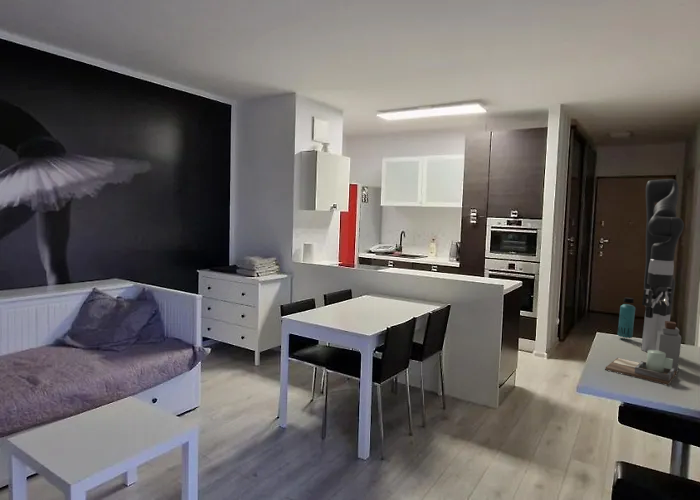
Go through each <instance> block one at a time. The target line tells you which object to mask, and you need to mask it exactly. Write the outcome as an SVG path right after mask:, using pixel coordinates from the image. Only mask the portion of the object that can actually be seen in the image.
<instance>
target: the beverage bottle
mask: <svg viewBox="0 0 700 500" xmlns="http://www.w3.org/2000/svg"><path fill="white" fill-rule="evenodd" d="M634 300H635V299H634V298H633V297H624V298H623V304H622V305H620V307H619V313H618V314H619V315H618V316H619V317H618V327H617V336H618V337H622V338H625V339H626V338H627V339H632V338H633V335H634V327H635V325H634V322H635V317H636V316H635V314H636V306H634V305H633V304H634Z"/></svg>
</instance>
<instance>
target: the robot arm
mask: <svg viewBox="0 0 700 500" xmlns="http://www.w3.org/2000/svg"><path fill="white" fill-rule="evenodd" d="M679 188H680V187H679V183H678V181H677V180H676V179H675V178H674V179H673V178H667V179H665V178H664V179H651V180H648V181H647V182H646V185H645V208H646V228H645V267H644V269H645V270H644V277H643V278H644V280H643V295H642V300H641V301H642V302H641V303H642V304H641V305H642V306H644V307H645V309H644V310H645V312H644V320H643V321H644V322H643V329H642V337H641V338H642V339H641V350H642V351H643V352H648V350H656V341H657V332H658V330H659V331H661V326H665V321H670V322H671V313H672V308H673V307H672V306H673V298H674V294H675V287H676V281H675V278H674V268H675V267H674V266H675V264H674V259H675V253H676V252H675V251H676V247H677V244H678V241H679V239H680V237H681V235H682V232H683V231H684V227H685V223H684V221H683V219H682V218H680V217H679V216H677V204H678V199H679V193H680V192H679V191H680V189H679Z"/></svg>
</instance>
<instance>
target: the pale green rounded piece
mask: <svg viewBox="0 0 700 500" xmlns="http://www.w3.org/2000/svg"><path fill="white" fill-rule="evenodd" d="M645 362H646V369H647V370H651V371H655V372H659V373H664V368H667V369H672V365H673V359H670V358H666V353H664V352H661V351H657V350H648V352H647V354H646V361H645Z"/></svg>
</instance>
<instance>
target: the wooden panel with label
mask: <svg viewBox="0 0 700 500" xmlns="http://www.w3.org/2000/svg"><path fill="white" fill-rule="evenodd" d="M646 362H647V361H640V362H637V361H633V360H629V359H625V358H620V357H617V358H615V359H614V360H613V361H611V362H610V363H609V364H608V365H606V366H605V370H607V371H610V372H615V373H617V372H618V373H619V374H621V373H622V374H621V375H625V374H626V376H629V375H631V376H630V377H633V376H634V378H637V379H643V380H646V381H651V382H654V383H659V384H661V385H662V384H663V385H666V386H669V385H670V383H671V382H672V380H673V379H674V378H675V377H676V375H677V374H678V372H677V371H675V369H674V368H672V369H667V368H664V373H659V372H655V371H651V370H647V369H646ZM618 373H617V374H618Z"/></svg>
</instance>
